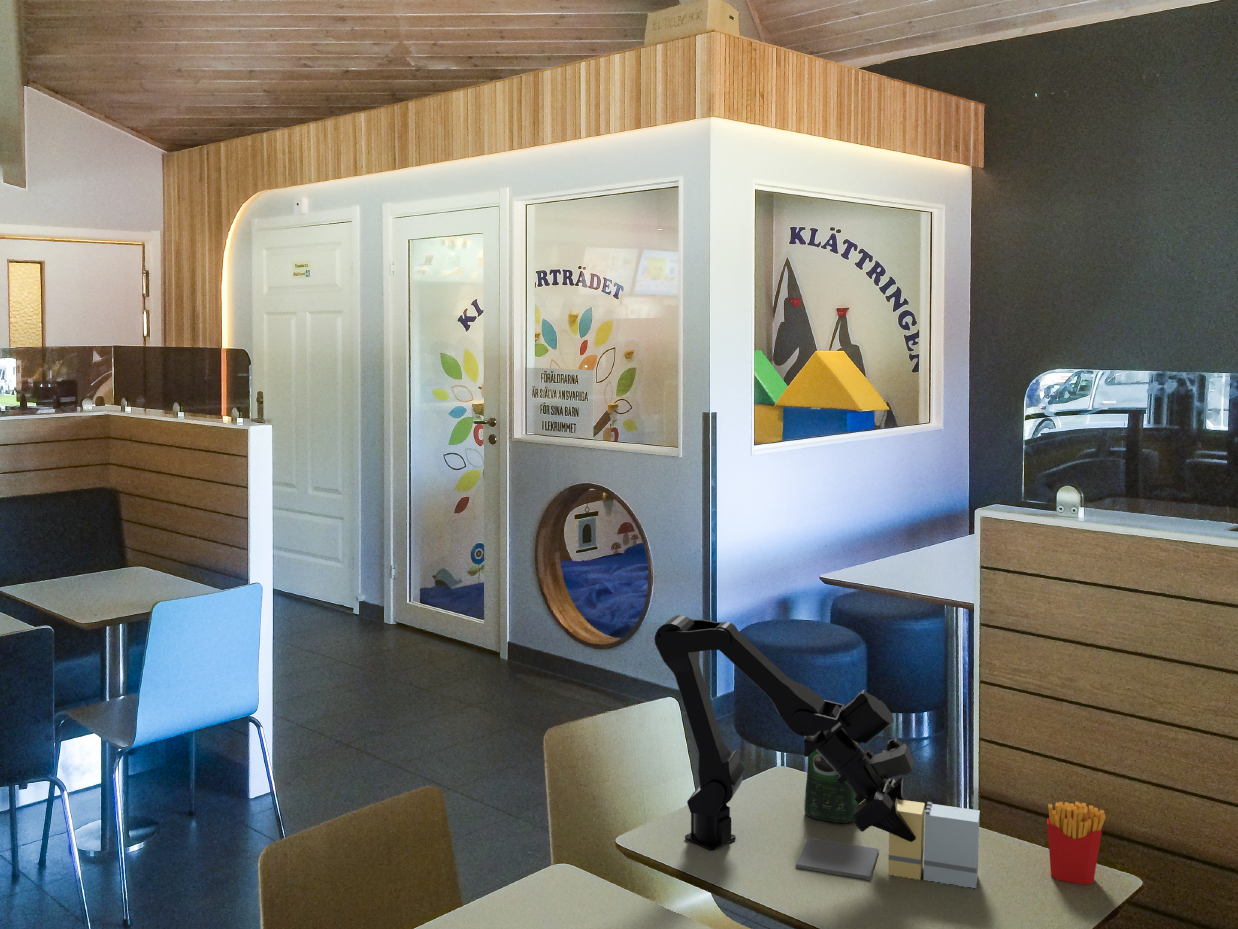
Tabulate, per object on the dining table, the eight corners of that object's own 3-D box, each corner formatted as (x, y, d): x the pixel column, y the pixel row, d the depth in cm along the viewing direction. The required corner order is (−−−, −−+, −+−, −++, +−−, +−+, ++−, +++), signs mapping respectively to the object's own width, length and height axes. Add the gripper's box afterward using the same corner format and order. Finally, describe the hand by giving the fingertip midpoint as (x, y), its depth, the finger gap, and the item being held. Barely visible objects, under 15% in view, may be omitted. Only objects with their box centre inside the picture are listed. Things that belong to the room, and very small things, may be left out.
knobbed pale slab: (923, 880, 177) (925, 812, 176) (926, 867, 181) (927, 801, 180) (976, 889, 174) (978, 820, 173) (977, 875, 178) (979, 808, 177)
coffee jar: (863, 810, 203) (865, 712, 200) (851, 828, 196) (853, 727, 193) (811, 801, 207) (813, 705, 205) (798, 817, 200) (799, 718, 198)
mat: (795, 867, 182) (795, 864, 181) (807, 841, 191) (807, 837, 191) (870, 880, 177) (870, 876, 177) (878, 852, 187) (878, 848, 186)
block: (888, 874, 179) (889, 809, 178) (891, 862, 183) (893, 798, 182) (920, 880, 177) (922, 814, 176) (923, 867, 181) (924, 803, 180)
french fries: (1045, 878, 177) (1048, 806, 176) (1045, 867, 181) (1048, 797, 180) (1102, 887, 174) (1106, 814, 173) (1101, 876, 178) (1105, 804, 176)
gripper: (875, 750, 170) (948, 830, 167) (891, 711, 187) (957, 782, 185) (823, 792, 174) (894, 870, 171) (843, 750, 191) (907, 820, 188)
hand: (915, 833), depth 179 cm, fingers closed on block, 4 cm apart
